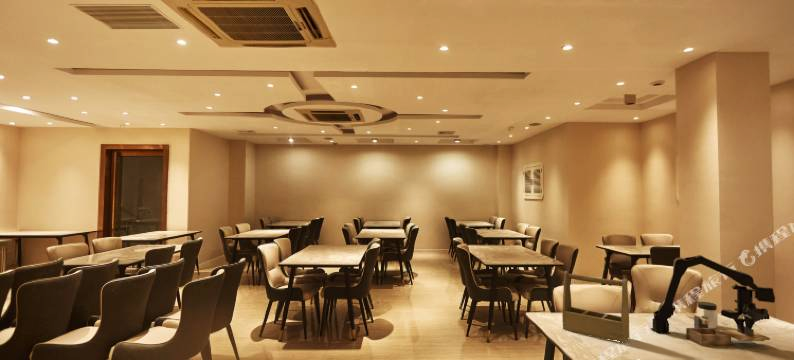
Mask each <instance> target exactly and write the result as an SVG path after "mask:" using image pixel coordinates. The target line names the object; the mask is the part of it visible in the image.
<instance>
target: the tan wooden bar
mask: <svg viewBox="0 0 794 360" xmlns="http://www.w3.org/2000/svg"><path fill="white" fill-rule="evenodd" d="M694 316H697V314H694V313H692V312H685V317H687V318H689V319H692V320H693V321H694ZM697 317H700V316H697ZM700 323H702V324H709V320H707V319H705V318H702V317H700Z"/></svg>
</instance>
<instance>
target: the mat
mask: <svg viewBox="0 0 794 360" xmlns="http://www.w3.org/2000/svg"><path fill="white" fill-rule="evenodd" d="M731 346H734V347H736V348H738V349H740V350H770V348H768V347H766V346H764V345H762V344H759V343H756V341H739V340H736V339H735V340H732V339H731Z"/></svg>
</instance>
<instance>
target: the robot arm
mask: <svg viewBox="0 0 794 360" xmlns="http://www.w3.org/2000/svg"><path fill="white" fill-rule="evenodd" d="M672 265H673V266H672V275H671V278H670V280H669V281H670V282H669V284H668V287H667V291H666V293H665V296H664V299H663V300H662V301H661V302H660V304H659V306H658V309H657V310H655V311H654V312H653V318H652V327H651V328H650V330H651V329H652V330H651V331H652V332H655V333H656V334H671V332H670V323H669V319H671V318H672V316H674V313H675V311H676V305H674V300H675V298H676V295H677V291H678V288H679V285H680V283H681V281H682V280H681V279H682V278H683V276H684V274H685V273H686V272H687V270H688V269H689V268H692V267H695V266H699V265H702V266H705V267H706V268H708V269H712V270H713V271H716V272H718V273H719V274H720V273H721V274H723V275H725V276H727V277H729V278H730V279H731V280H733V281H734V282H737V283H738V284H739V285H738V284H737V283H735V284H733V285H731V289H732V290H736V299H734V303H736V308H734V310H732V309H722V310H721V311H720V316H721V317H722V316H723V317H725V318H727V319H732V320H733V321H734V322H735V324H736V327H737V326H738V328H739V330H740V331H741V332H742V333H743V332H744V326H745V327H748V328H750V329H753V327H754V325H755V323H756V322H760V321H763V320H770V318H771V317H770V314H769V313H768V309H767V308H758V307H757V306H756V305H757V304H756V303H755V302H753V301H754V299H755V300H756V301H757V302H761V303H762V302H764V303H771V304H774V303H775V302H776V296H775V292H774V288H773V287H770V286H769V287H763V286H758V285H757V284H756V283H755V282H754V278H753V276H752V275H750V274H749V273H747V272H745V271H741V270H738V269H732V268H730V267H727V266H725V265H723V264H720V263H718V262H716V261H714V260H712V259H709V258H707V257H705V256H703V255H701V254H698V255H695V256H688V257H684V258H683V257H676V258H675V259H674V260H673V264H672ZM747 287H748V288H747Z"/></svg>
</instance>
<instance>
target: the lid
mask: <svg viewBox="0 0 794 360" xmlns="http://www.w3.org/2000/svg"><path fill="white" fill-rule="evenodd" d="M736 327H737V328H736V329H722V330H721V331H722V332H724V333H727V334H729V335H731V338H733V339H735V340H736V341H752V342H765V341H770V340H771V338H770V337H768V336H767V335H763V334H761V333H758V332H756V331H755V330H754V329H753V328H752V329H750V328H748V327H746V326H745V325H744V332H743V333H742V332H741V331H740V330H739V328H738V326H737V325H736Z"/></svg>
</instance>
